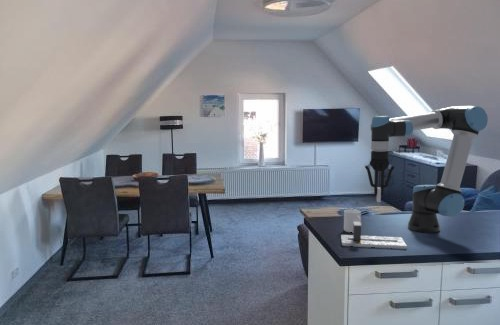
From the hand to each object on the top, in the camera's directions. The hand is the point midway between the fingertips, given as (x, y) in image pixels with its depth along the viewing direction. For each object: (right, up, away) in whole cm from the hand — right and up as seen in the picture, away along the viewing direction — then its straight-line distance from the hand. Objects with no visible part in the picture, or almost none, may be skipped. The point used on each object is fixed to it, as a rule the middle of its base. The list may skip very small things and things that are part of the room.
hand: (378, 201), depth 191 cm
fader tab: (-9, -17, +4) cm, 20 cm away
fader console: (-2, -19, +3) cm, 20 cm away
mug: (-6, -17, +21) cm, 28 cm away
